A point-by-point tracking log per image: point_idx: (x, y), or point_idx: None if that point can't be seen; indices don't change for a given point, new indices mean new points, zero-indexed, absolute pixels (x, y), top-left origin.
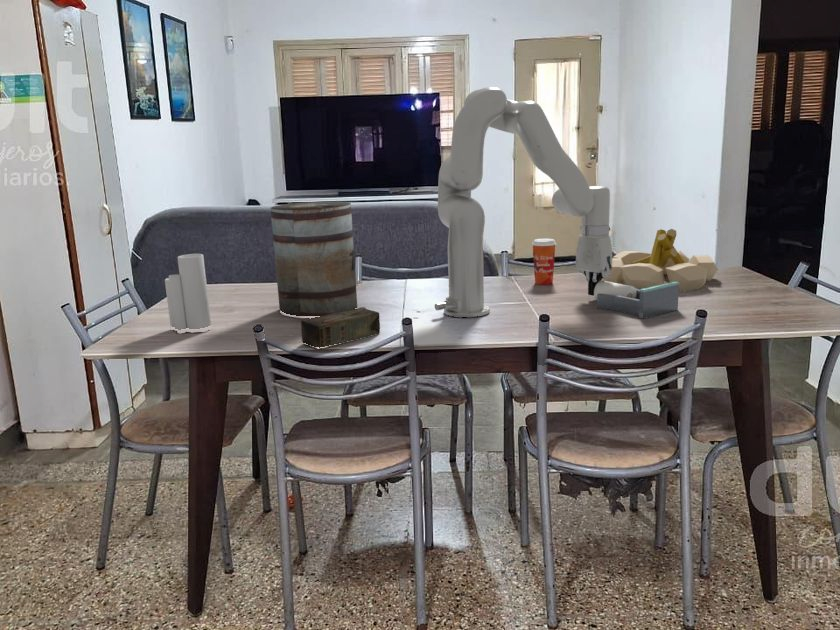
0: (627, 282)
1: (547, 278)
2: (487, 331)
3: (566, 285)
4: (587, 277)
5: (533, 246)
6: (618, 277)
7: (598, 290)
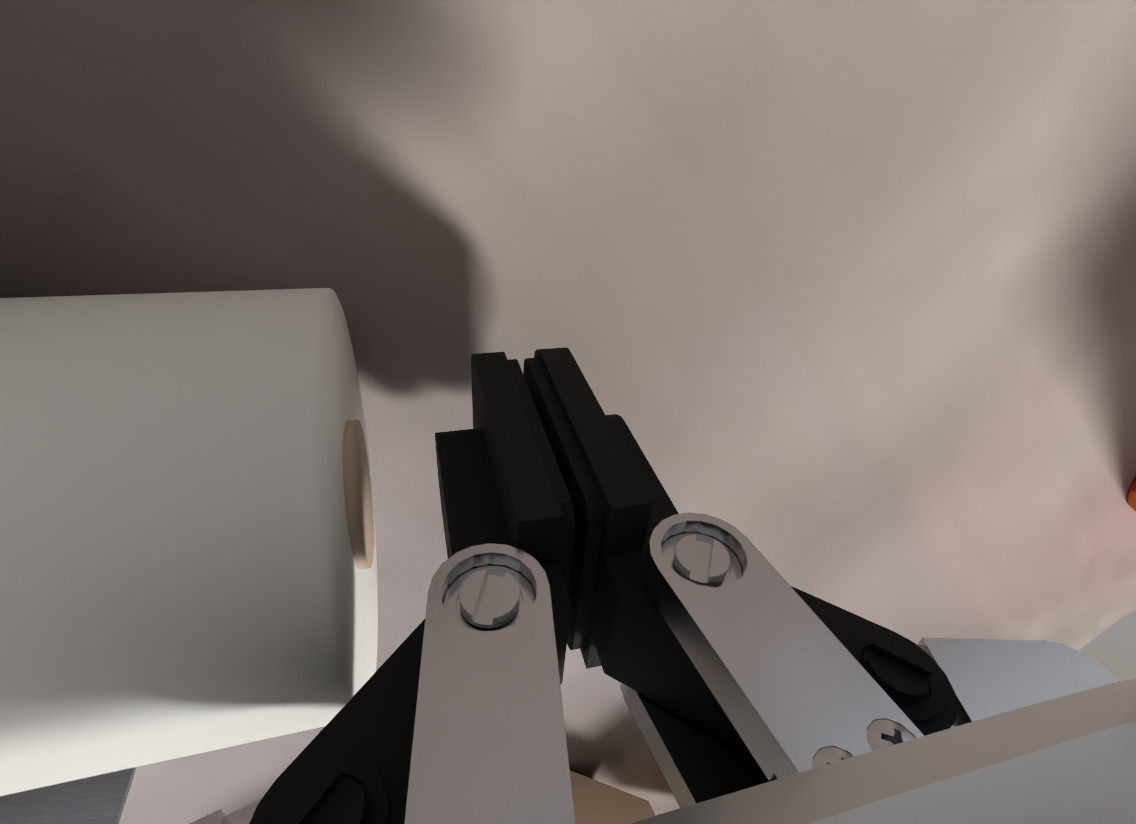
0: (592, 810)
1: None
2: None
3: (1010, 531)
4: (740, 583)
5: None
6: None
7: (148, 362)
